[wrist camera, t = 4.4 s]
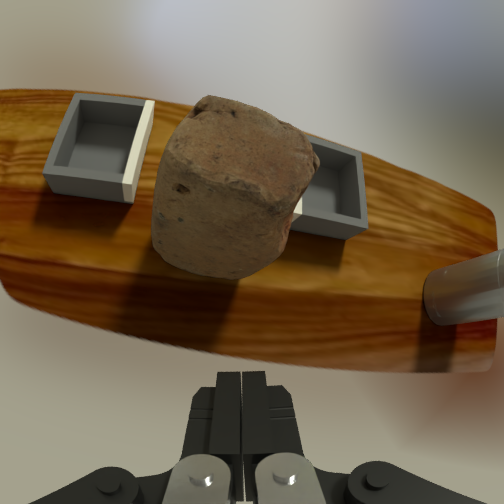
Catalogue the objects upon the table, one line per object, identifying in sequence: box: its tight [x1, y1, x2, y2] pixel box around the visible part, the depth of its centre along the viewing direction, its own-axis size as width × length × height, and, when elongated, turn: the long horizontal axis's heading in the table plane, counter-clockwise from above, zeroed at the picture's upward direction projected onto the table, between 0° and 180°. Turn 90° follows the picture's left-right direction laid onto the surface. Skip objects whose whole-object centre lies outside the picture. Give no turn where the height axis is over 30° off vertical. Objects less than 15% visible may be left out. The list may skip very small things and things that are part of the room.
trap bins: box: [42, 93, 368, 240], centre depth 35 cm, size 37×11×5 cm, turn 85°
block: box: [151, 95, 320, 280], centre depth 26 cm, size 11×8×20 cm
